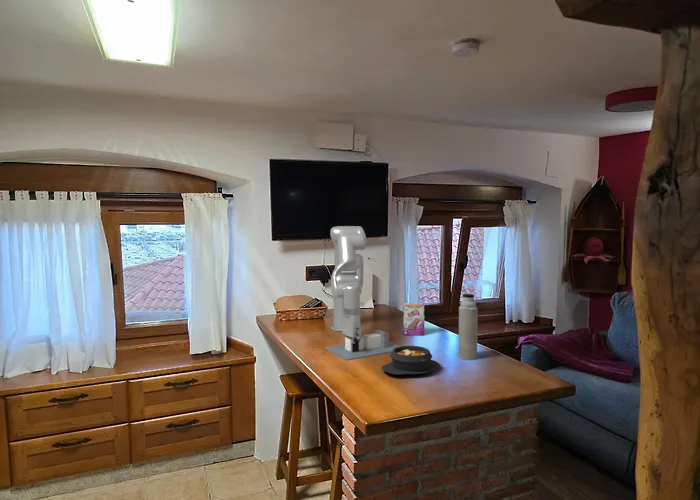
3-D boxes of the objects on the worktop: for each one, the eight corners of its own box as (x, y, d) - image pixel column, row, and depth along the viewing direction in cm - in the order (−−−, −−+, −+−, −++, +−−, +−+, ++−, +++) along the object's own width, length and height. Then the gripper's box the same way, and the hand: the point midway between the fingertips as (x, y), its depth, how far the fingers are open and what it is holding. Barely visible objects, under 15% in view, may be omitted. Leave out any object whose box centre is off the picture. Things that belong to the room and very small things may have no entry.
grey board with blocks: (324, 348, 219) (323, 333, 219) (380, 338, 235) (379, 325, 234) (346, 360, 200) (346, 344, 199) (405, 349, 216) (405, 334, 215)
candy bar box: (403, 335, 241) (403, 304, 240) (403, 333, 246) (402, 302, 245) (424, 335, 240) (424, 304, 239) (424, 333, 245) (424, 303, 244)
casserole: (397, 383, 172) (397, 361, 172) (372, 369, 189) (372, 349, 188) (450, 372, 184) (450, 351, 183) (422, 359, 200) (422, 340, 200)
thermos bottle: (459, 353, 208) (459, 292, 206) (477, 355, 205) (478, 293, 203) (457, 359, 200) (458, 295, 198) (476, 360, 198) (477, 296, 196)
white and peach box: (345, 349, 215) (345, 337, 215) (358, 346, 218) (357, 335, 218) (350, 351, 211) (350, 339, 210) (363, 349, 214) (363, 337, 214)
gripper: (336, 309, 218) (336, 346, 220) (354, 315, 204) (354, 355, 205) (349, 307, 222) (350, 344, 223) (368, 313, 207) (368, 353, 209)
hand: (352, 349), depth 214 cm, fingers closed on white and peach box, 5 cm apart
